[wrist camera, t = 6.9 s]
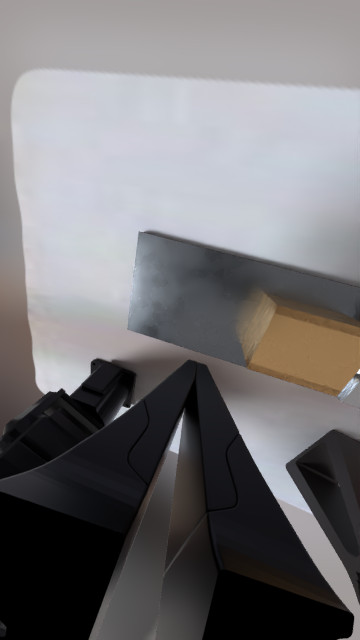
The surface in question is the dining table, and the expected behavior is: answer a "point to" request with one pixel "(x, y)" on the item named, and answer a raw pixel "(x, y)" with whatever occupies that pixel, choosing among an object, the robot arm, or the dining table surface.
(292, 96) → the dining table surface
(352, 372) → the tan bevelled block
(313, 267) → the dining table surface
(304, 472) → the dark grey a-frame stand
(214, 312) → the grey stepped plate
